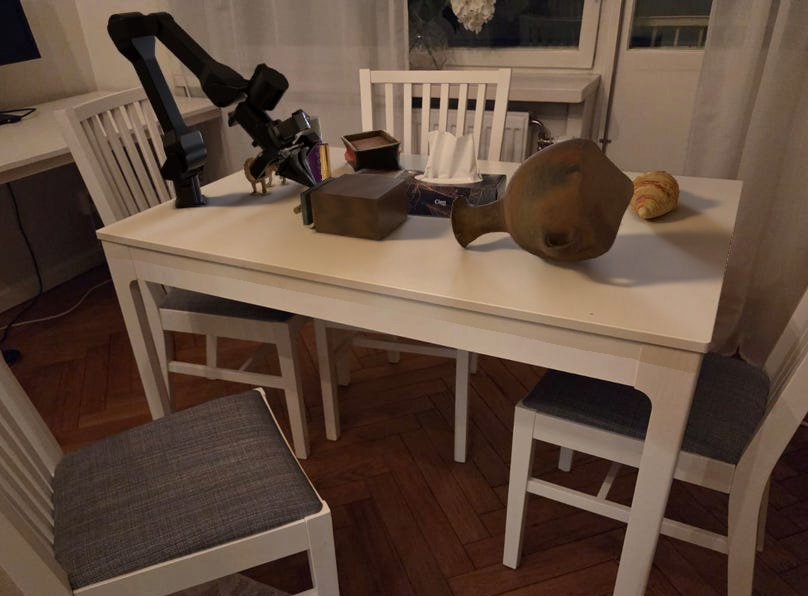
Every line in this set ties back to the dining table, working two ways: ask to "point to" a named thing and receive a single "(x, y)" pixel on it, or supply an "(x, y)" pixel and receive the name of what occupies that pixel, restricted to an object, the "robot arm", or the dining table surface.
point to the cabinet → (360, 206)
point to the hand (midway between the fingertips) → (314, 186)
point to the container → (315, 149)
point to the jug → (554, 204)
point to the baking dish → (372, 150)
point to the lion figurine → (263, 181)
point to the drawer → (309, 203)
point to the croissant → (654, 194)
